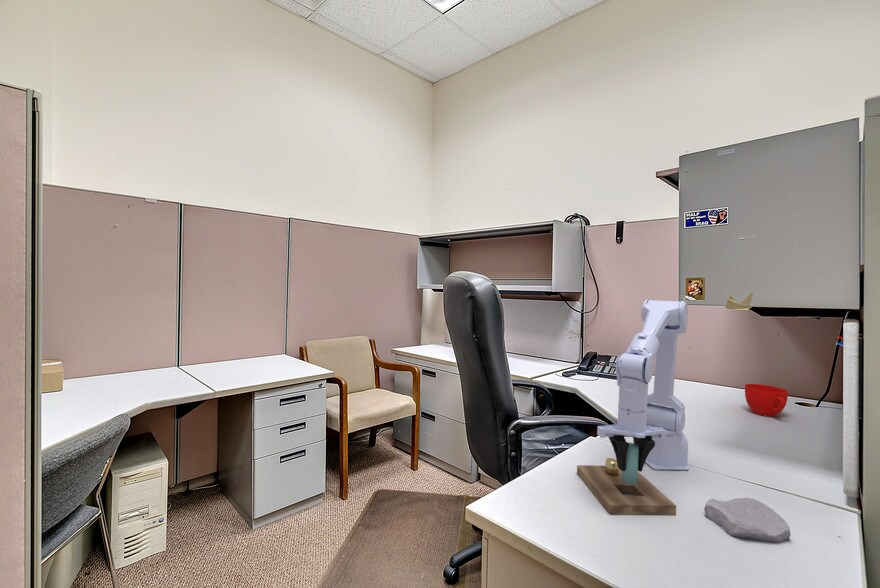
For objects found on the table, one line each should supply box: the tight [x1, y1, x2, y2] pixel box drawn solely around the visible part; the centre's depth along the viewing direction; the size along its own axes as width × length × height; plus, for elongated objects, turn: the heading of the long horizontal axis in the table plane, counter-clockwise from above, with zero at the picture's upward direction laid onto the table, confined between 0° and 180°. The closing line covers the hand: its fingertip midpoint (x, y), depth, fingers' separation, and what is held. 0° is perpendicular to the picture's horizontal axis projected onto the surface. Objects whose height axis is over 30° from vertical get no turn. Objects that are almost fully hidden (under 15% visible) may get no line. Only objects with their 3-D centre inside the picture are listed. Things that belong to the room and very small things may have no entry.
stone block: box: [703, 497, 792, 543], centre depth 80 cm, size 12×5×10 cm
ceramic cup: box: [744, 383, 789, 418], centre depth 153 cm, size 13×17×10 cm
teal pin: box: [621, 441, 639, 485], centre depth 89 cm, size 3×3×8 cm
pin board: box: [576, 457, 677, 516], centre depth 93 cm, size 14×18×5 cm
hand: (629, 469), depth 89 cm, fingers closed on teal pin, 3 cm apart
